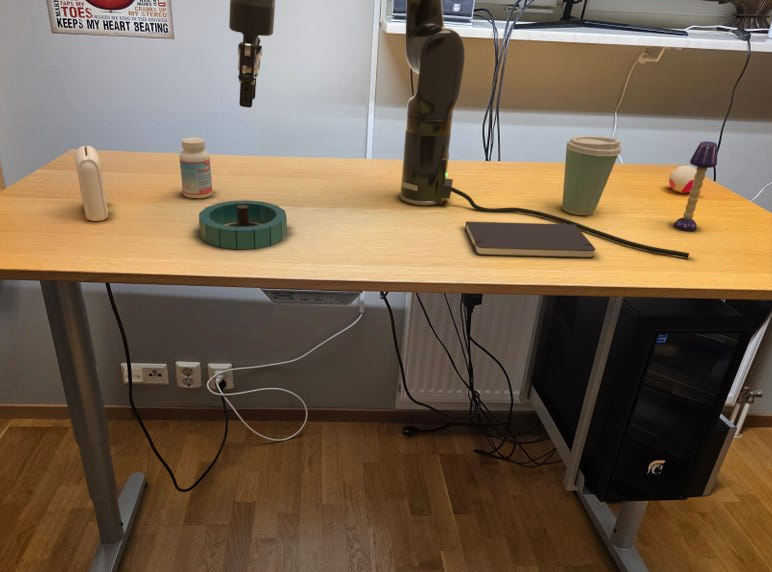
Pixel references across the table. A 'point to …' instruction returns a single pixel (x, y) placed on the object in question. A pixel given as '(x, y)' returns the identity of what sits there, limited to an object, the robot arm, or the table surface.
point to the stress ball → (682, 179)
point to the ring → (243, 236)
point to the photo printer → (91, 183)
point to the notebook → (528, 239)
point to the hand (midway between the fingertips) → (247, 102)
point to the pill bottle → (195, 168)
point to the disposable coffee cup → (587, 172)
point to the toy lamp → (697, 182)
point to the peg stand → (243, 217)
